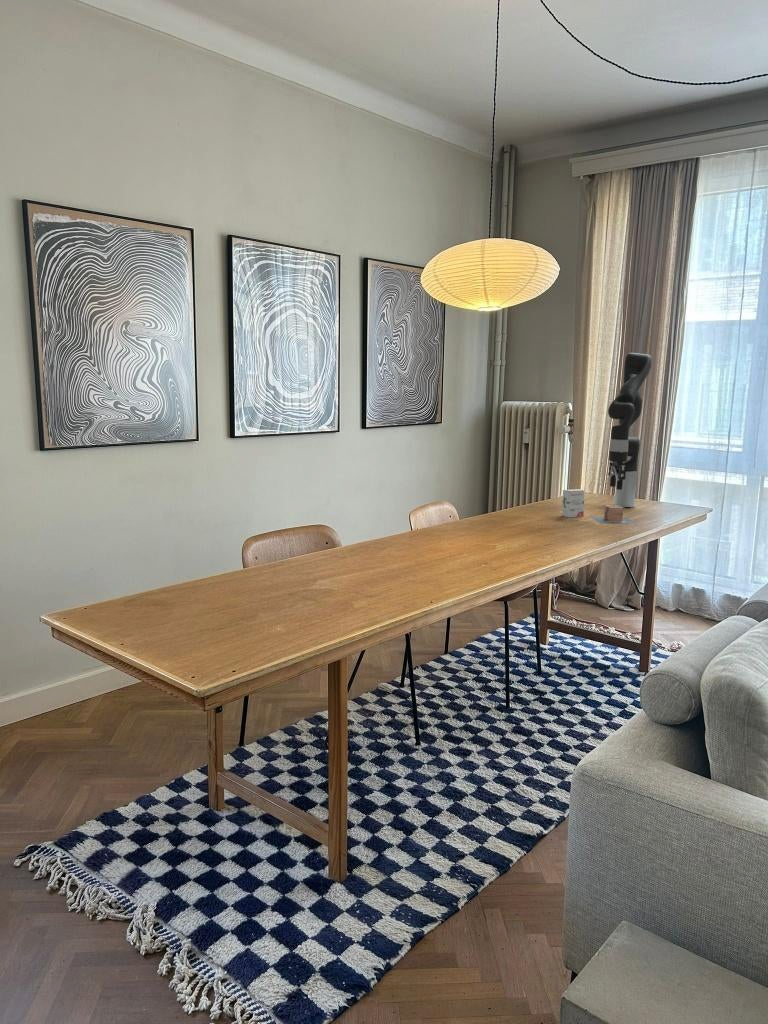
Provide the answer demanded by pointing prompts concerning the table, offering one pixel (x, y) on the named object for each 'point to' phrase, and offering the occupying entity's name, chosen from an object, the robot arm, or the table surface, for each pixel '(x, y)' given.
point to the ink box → (573, 503)
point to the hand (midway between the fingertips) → (615, 488)
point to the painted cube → (613, 513)
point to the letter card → (603, 521)
